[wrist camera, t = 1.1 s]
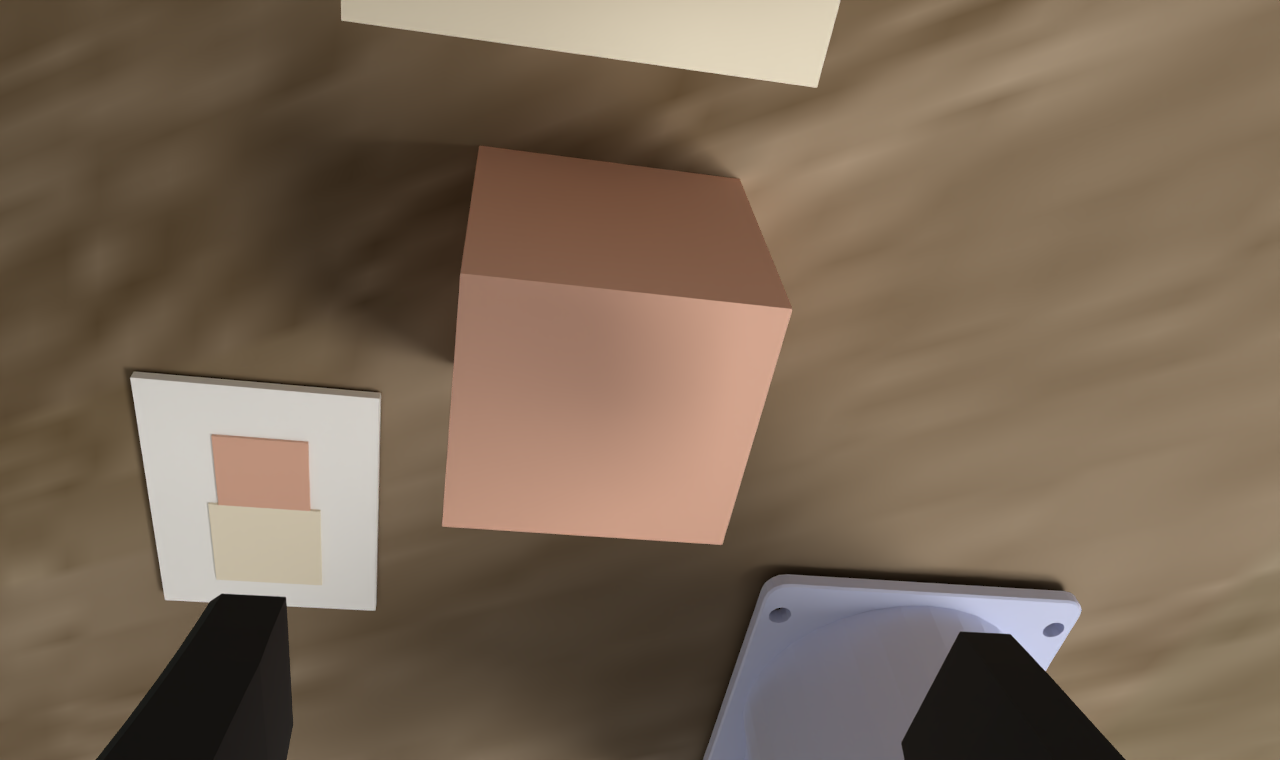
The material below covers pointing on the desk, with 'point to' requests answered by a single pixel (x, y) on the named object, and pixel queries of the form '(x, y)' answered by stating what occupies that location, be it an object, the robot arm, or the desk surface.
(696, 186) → the terracotta cube
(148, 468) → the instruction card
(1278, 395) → the desk surface
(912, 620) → the robot arm
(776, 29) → the birch base block
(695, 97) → the desk surface
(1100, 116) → the desk surface
